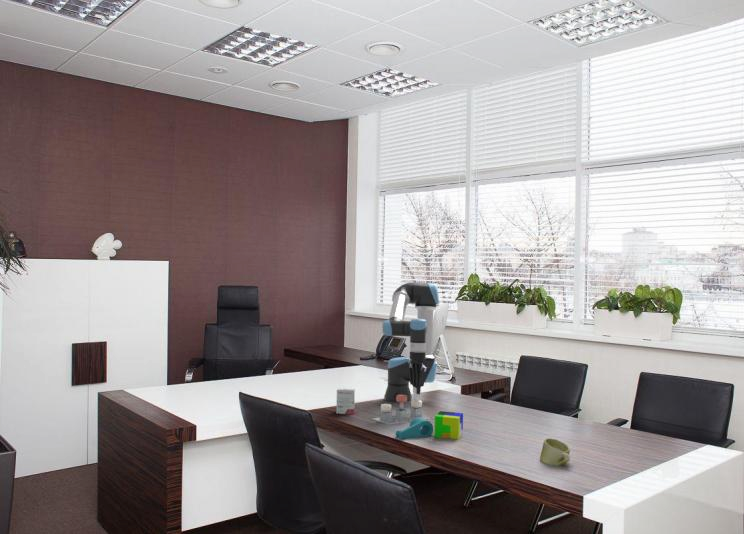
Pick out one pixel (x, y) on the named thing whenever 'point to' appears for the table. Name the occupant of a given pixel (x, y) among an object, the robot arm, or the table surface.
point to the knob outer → (386, 408)
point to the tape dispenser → (416, 429)
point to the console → (400, 416)
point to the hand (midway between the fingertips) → (416, 400)
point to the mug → (554, 452)
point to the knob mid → (401, 400)
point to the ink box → (345, 401)
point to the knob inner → (416, 404)
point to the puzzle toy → (449, 425)
